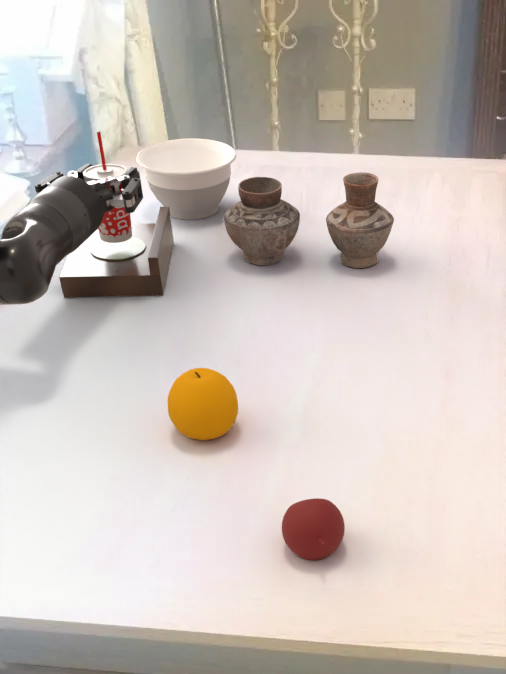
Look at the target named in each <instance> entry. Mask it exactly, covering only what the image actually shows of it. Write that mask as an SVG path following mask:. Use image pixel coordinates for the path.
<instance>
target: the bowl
mask: <svg viewBox="0 0 506 674" xmlns="http://www.w3.org/2000/svg"><path fill="white" fill-rule="evenodd" d="M236 159H237V152H236V150H235V148H233V147H232V146H231V145H229V144H227V143H225V142H222V141H218V140H215V139H208V138H194V137H191V138H174V139H168V140H163V141H159V142H156V143H153V144H150V145H147V146H146V147H144V148H142V149H141V150H140V151H139V152H137V155H136V158H135V161H136V164H137V165H138V166H139V167H140V168H141V169H143V171H144V176H145V179H146V182H147V184H148V187H149V189H150V191H151V192H152V193H153V195H154V197H155V198H156V199H157V201H158V202H159V203H160V204H161V205H162V207H169V209H170V217H171V218H174V219H177V220H178V219H179V220H186V221H187V220H188V221H190V220H191V221H192V220H193V221H195V220H201V219H206V218H209V217H211V216H214V215H215V214H217V212H218V211H219V206H220V204H221V202H222V200H223V199H224V197H225V195H226V192H227V191H228V187H229V186H230V181H231V175H232V168H231V167H232V165H231V164H232V163H234V162H235V161H236Z"/></svg>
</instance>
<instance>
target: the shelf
mask: <svg viewBox="0 0 506 674" xmlns="http://www.w3.org/2000/svg"><path fill="white" fill-rule="evenodd" d="M131 228H132V237H131V238H130V239H129V240H127V241H124V242H119V243H108V242H104V241H102V240H101V239H100V235H99V231H98V229H97V230H96V231H95V232H94V233H93V234H92V235H91V236H90V237H89V238H88V239H87V240H86V241H85V242H84V243H83V244H81V245H80V246H79V247H78V248H77V249H76V250H75V251H74V252H72V253H70V254H68V255H67V256H66V259H65V262H64V264H63V266H62V268H61V272H60V274H59V276H58V277H59V283H60V288H61V291H62V295H63V298H101V297H102V298H104V297H105V298H106V297H108V298H110V297H151V296H153V297H154V296H155V297H157V296H159V297H160V296H161V297H162V296H164V293H165V289H166V283H167V278H168V273H169V268H170V264H171V258H172V253H173V248H174V243H175V242H174V233H173V226H172V217H171V216H170V209H169V207H164V206H159V209H158V213H157V217H156V222H155V223H154V222H153V223H131Z"/></svg>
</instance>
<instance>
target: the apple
mask: <svg viewBox="0 0 506 674" xmlns="http://www.w3.org/2000/svg"><path fill="white" fill-rule="evenodd" d="M167 413H168V417H169V419H170V421H171V423H172V424H173V426H174V427H175V429H176V430H177V431H178V432H179V434H182V435H183V436H185V437H186V438H189V439H191V440H192V439H193V440H195V441H209V440H214V439H218V438H220V437H222V436H223V435H225V434H226V433H228V432H229V431H230V430H231V429H232V428H233V426H234V425H235V423H236V420H237V417H238V414H239V401H238V396H237V391H236V389H235V387H234V385H233V384H232V383H231V382H230V380H229V379H228V378H227V377H226V376H225V375H224V374H223V373H221V372H219V371H217V370H215V369H211V368H207V367H196V368H191V369H189V370H186V371H184V372H182V373H181V374H180V375H179V376H178V377H176V378H175V380H174V381H173V383H172V385H171V387H170V389H169V390H168V395H167Z"/></svg>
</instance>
